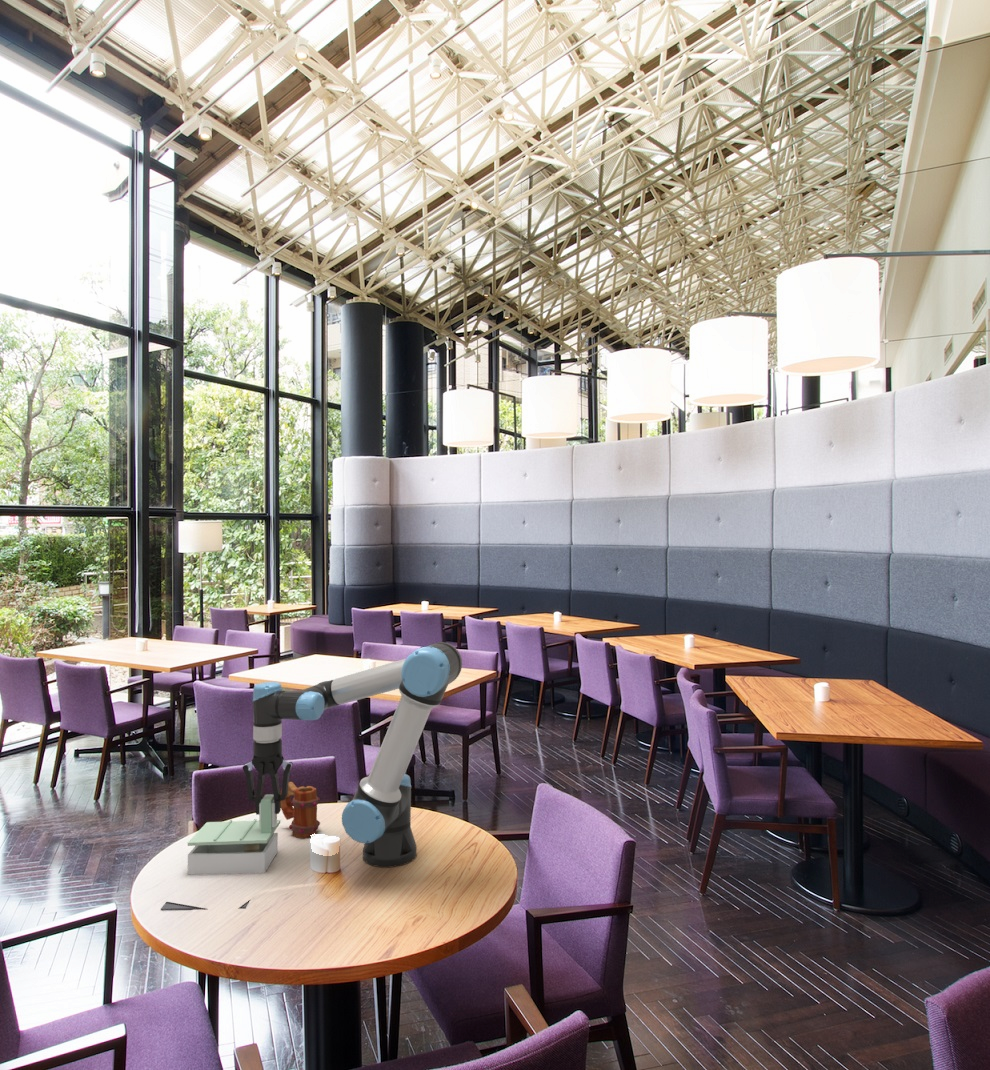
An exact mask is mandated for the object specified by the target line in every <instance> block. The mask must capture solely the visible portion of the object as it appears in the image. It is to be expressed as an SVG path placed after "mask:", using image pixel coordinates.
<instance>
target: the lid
mask: <svg viewBox="0 0 990 1070" xmlns="http://www.w3.org/2000/svg"><path fill="white" fill-rule="evenodd" d="M273 801H274V795H273V793H272V794H271V793H270V794H264V796H262V800H261V828H259V820H258V819H256V818H255V819H253V820H239V821H238V820H236V821H235V820H234V821H233V820H232V819H229V821H207V822H206V823H205V824H203V826H202V827H201V828H200V829H199V830H198V831H197V832H196V833H195V834H194V835H193V836H192V838H191V839H190V840H188V842H187V846H188V847H189V846H192V847H195V846H197V845H226V844H255V843H267V842H268V841H269V839H270V838H271V836H272V835H273V833H276V830H277V829H278V827H279V825H280V824H281V819H277V824H276V826H275V827H272V802H273Z"/></svg>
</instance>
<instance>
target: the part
mask: <svg viewBox="0 0 990 1070" xmlns="http://www.w3.org/2000/svg"><path fill="white" fill-rule="evenodd" d="M244 852H259V844H252V845H244Z"/></svg>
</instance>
